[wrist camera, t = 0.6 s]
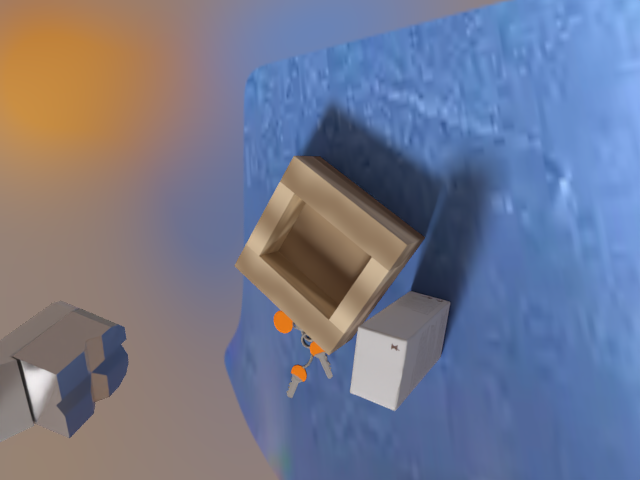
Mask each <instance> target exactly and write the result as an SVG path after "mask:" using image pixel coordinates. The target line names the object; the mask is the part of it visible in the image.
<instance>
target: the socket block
mask: <svg viewBox="0 0 640 480" xmlns="http://www.w3.org/2000/svg"><path fill="white" fill-rule="evenodd" d="M424 239H425V237H424V236H422V235H421V234H420V233H418V232H417V231H416V230H415V229H413V228H412V227H411V226H409V225H408V224H407V223H405V222H404V221H403V220H402V219H400V218H399V217H398V216H396V215H395V214H394V213H392V212H391V211H390V210H389V209H387V208H386V207H385V206H383V205H382V204H381V203H379V202H378V201H377V200H376V199H374V198H373V197H372V196H370V195H369V194H368V193H367V192H365V191H364V190H363V189H361V188H360V187H359V186H357V185H356V184H355V183H354V182H352V181H351V180H350V179H348V178H347V177H346V176H344V175H343V174H342V173H341V172H339V171H338V170H337V169H335V168H334V167H333V166H331V165H330V164H329V163H328V162H326V161H325V160H324V159H322V158H321V157H319V156H294V157H293V159H292V161H291V162H290V164H289V166H288V168H287V170H286V172H285V173H284V175H283V177H282V179H281V181H280V183H279V185H278V186H277V188H276V190H275V192H274V194H273V196H272V197H271V199H270V201H269V203H268V205H267V207H266V209H265V210H264V212H263V214H262V216H261V218H260V220H259V221H258V223H257V225H256V227H255V229H254V231H253V233H252V234H251V236H250V238H249V240H248V242H247V244H246V245H245V247H244V249H243V251H242V253H241V255H240V257H239V258H238V260H237V262H236V264H235V267H236V268H237V269H238V270H239V271H240V272H241V273H242V274H244V275H245V276H246V277H247V278H248V279H249V280H250V281H251V282H252V283H253V284H254V285H255V286H256V287H257V288H258V289H259V290H260V291H261V292H263V293H264V294H265V295H266V296H267V297H268V298H269V299H270V300H271V301H272V302H273V303H274V304H275V305H276V306H277V307H278V308H279V309H280V310H282V311H283V312H284V313H285V314H286V315H287V316H288V317H289V318H290V319H291V320H292V321H293V322H294V323H295V324H296V325H297V326H298V327H300V328H301V329H302V330H303V331H304V332H305V333H306V334H307V335H308V336H309V337H310V338H311V339H312V340H313V341H314V342H315V343H316V344H317V345H319V346H320V347H321V348H322V349H323V350H324V351H325V352H326V353H327V354H328V355H330V354H331V353H333V352H334V351H335V350H337V349H338V348H340V347H341V346H343V345H344V344H345V343H347V342H348V341H350V340H351V339H352V338H353V336H354V335H355V334H356V332H357V331H358V327H359V326H360V325H362V324H363V323H364V321H365V320H366V318H367V317H368V316H369V314H370V313H371V312H372V310H373V309H374V307H375V306H376V305H377V303H378V302H379V301H380V299H381V298H382V296H383V295H384V294H385V292H386V291H387V290H388V288H389V287H390V285H391V284H392V283H393V281H394V280H395V279H396V277H397V276H398V274H399V273H400V272H401V270H402V269H403V268H404V266H405V265H406V263H407V262H408V261H409V259H410V258H411V257H412V255H413V254H414V252H415V251H416V250H417V248H418V247H419V246H420V244H421V243H422V241H423V240H424Z"/></svg>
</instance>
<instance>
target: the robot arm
mask: <svg viewBox="0 0 640 480" xmlns="http://www.w3.org/2000/svg"><path fill="white" fill-rule="evenodd" d="M125 340H126V334H125V328H124V327H122V326H120V325H118V324H116V323H114V322H111V321H109V320H106V319H104V318H102V317H99V316H97V315H95V314H92V313H90V312H87V311H85V310H83V309H80V308H78V307H75V306H73V305H70V304H68V303H66V302H63V301H59V302H55V303H52V304H50V305H49V306H48V307H46V308H45V309H43V310H42V311H41V312H39V313H38V314H36V315H35V316H33V317H32V318H31V319H29V320H28V321H26V322H25V323H24V324H22V325H21V326H20V327H18V328H17V329H15V330H14V331H13V332H11V333H10V334H8V335H7V336H5V337H4V338H3V339H1V340H0V442H1V441H3V440H5V439H7V438H9V437H12V436H14V435H16V434H18V433H20V432H22V431H24V430H26V429H28V428H30V427H33V426H34V423H35V424H37V425H39V426H42V427H44V428H46V429H49V430H51V431H53V432H56V433H58V434H61V435H63V436H66V437H68V438H70V437H71V436H72V435H73V434H74V433H75V432H76V431H77V430H78V429H79V428H80V427H81V426H82V425H83V424H84V423H85V422H86V421H87V420H88V418H90V417H91V416H92V415H93V413H94V409H95V402H97V401H99V400H102V399H105V398H107V397H110V396H111V395H112V393H113V392H114V391H115V390H116V389H117V388H118V387H119V385H120V384H121V382H122V380H123V378H124V376H125V375H126V372H127V367H128V354H127V353H126V352H125V350H124V348H123V347H122V345H121V344H122V343H123V342H124V341H125Z"/></svg>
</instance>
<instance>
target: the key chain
mask: <svg viewBox="0 0 640 480" xmlns="http://www.w3.org/2000/svg"><path fill="white" fill-rule="evenodd" d="M274 325H275V327H276V328H277V329H278V330H279V331H280V332H282V333H288V332H290V331H291V329H292V327H294V328H297V329H298V330H301V333H302V337H301V342H302V344H303V345H304V346H305V347H306V348H310V352H311V357H310V358H311V359H310V360H309V362H308V363H307V364H306V365H305V367H308V366H309V365H310V363H311V362H312V359H313V356H315V357H317V358H319V360H320V362H321V364H322V366H323V368H324V370H325V372H326V375H327V377H328V378H332V376H333V375H332V373H331V370H330V369H331V367H329V365H330V363H329V362H327V355H326V356H325V354H326V352H325V351H324V350H323V349H322V348H321V347H320V346H319V345H317V344H316V343H315V342H314V341H313V340H312V339H309V338H307V337H306V336H305V335H307V334H306V333H304V331H303V330H302V329H301V328H300V327H298V326H297V325H296V324H295V325H296V327H295V326H294V322H293V321H292V320H291V319H290V318H289V317H288V316H287V315H286V314H285V313H284V312H283V311H278V312H277V313H276V314H275V316H274ZM303 338H304V339H305V340H307V341H309V342H312V343H311V345H310V346H307V345H306V344H305V343H304V341H303ZM305 367H304V366H303V367H302V366H300V365H296V366H294V367H293V368H292V371H291V373H292V375H293V377H292V378H291V379H292V380H291V381H292V382H291V383H289V385H290V387H288V388H289V391H287V395H288V397H290V398H292V397H293V395H294V392H295V390H296V388H297V385H298V383H299V382H304V381H305V380H306V377H307V374H306V371H305Z"/></svg>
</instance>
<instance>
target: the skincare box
mask: <svg viewBox="0 0 640 480" xmlns="http://www.w3.org/2000/svg"><path fill="white" fill-rule="evenodd" d="M449 307H450V302H449V301H445V300H442V299H438V298H434V297H431V296H427V295H423V294H420V293H416V292H412V291H410V292H408V293H407V294H405V295H404V296H402V297H401V298H399V299H398V300H397V301H395V302H394V303H392V304H391V305H389V306H388V307H386V308H385V309H383V310H382V311H381V312H379V313H377V314H376V315H375V316H373V317H372V318H370V319H369V320H367V321H366V322H364V323H363V324H362V325H360V326H359V327H358V333H357V340H356V348H355V356H354V365H353V373H352V381H351V388H350V393H352V394H355V395H358V396H360V397H363V398H365V399H367V400H370V401H372V402H375V403H377V404H379V405H382V406H384V407H387V408H389V409H391V410H394V411H395V410H396V409H397V408H398V407H399V406H400V405H401V403H402V402H403V401H404V400H405V399H406V398H407V396H408V395H409V394H410V393H411V392H412V390H413V389H414V388H415V387H416V386H417V385H418V383H419V382H420V381H421V380H422V379H423V377H424V376H425V375H426V374H427V373H428V371H429V370H430V369H431V368H432V367H433V365H434V364H435V363H436V362H437V361H438V360H439V358H440V357H441V352H442V346H443V341H444V335H445V330H446V324H447V319H448V313H449Z"/></svg>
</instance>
